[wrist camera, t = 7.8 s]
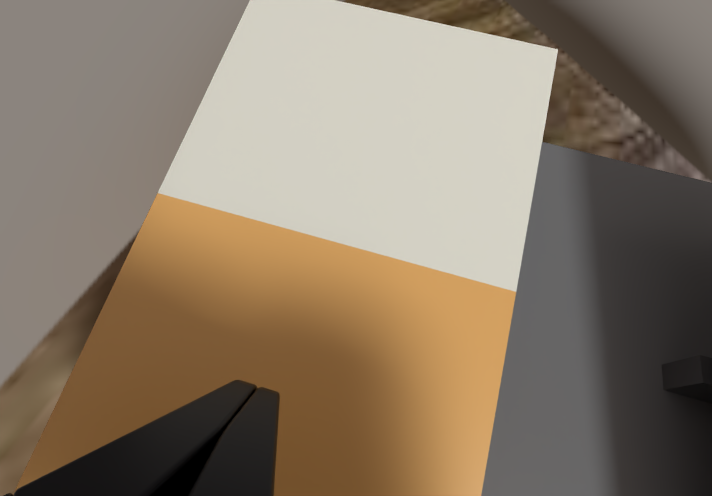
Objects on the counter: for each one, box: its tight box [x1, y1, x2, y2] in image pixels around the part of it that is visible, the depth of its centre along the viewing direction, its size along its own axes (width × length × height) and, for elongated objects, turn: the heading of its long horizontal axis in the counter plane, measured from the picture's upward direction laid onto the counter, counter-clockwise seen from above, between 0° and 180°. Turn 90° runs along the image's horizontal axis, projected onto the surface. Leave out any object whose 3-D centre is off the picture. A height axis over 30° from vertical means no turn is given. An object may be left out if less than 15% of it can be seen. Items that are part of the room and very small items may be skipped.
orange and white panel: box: [13, 0, 558, 496], centre depth 11 cm, size 16×10×1 cm, turn 164°
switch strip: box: [481, 142, 712, 496], centre depth 15 cm, size 18×28×8 cm, turn 74°
